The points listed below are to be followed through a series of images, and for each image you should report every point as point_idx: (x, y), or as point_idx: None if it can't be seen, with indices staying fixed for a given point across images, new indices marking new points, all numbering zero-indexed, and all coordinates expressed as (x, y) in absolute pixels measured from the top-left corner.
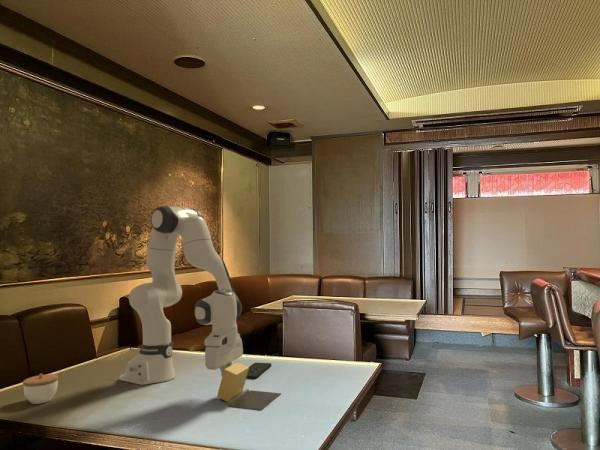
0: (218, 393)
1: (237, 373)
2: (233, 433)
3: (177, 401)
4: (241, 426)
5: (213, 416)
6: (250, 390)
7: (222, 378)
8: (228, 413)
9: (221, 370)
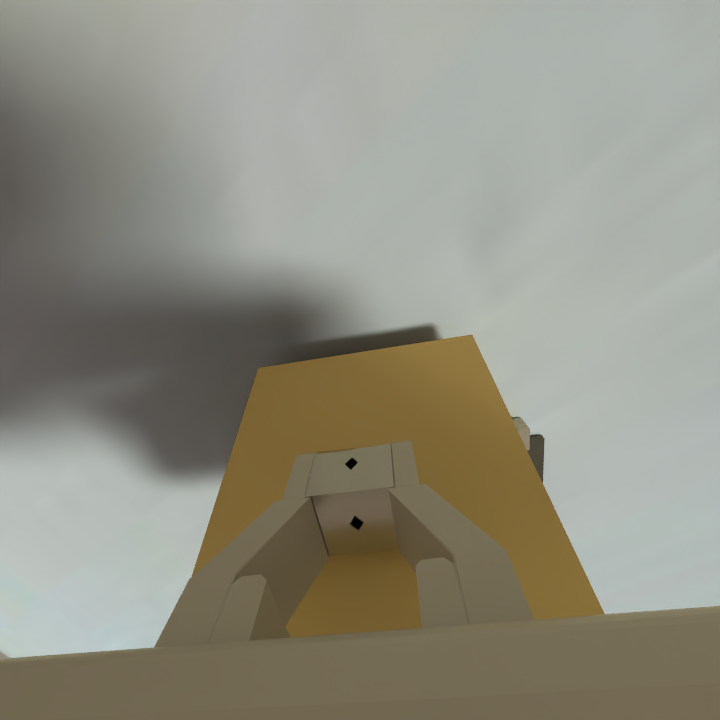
0: (254, 393)
1: None
2: (58, 626)
3: (41, 16)
4: (119, 620)
5: (94, 485)
6: (541, 439)
7: (209, 535)
8: (173, 520)
9: (258, 534)
